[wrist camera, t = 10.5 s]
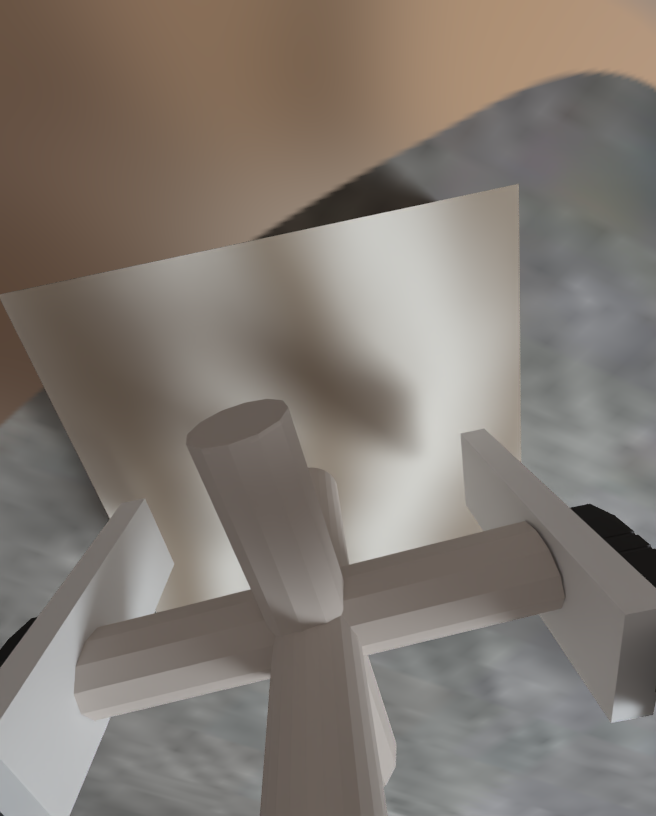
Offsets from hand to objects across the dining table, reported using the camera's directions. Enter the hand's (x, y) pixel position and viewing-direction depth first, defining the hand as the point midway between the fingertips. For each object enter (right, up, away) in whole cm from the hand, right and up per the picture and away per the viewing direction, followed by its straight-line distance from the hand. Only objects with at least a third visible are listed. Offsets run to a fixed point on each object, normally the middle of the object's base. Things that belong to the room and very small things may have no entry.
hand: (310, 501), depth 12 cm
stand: (0, +3, +8) cm, 8 cm away
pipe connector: (0, 0, +1) cm, 1 cm away
